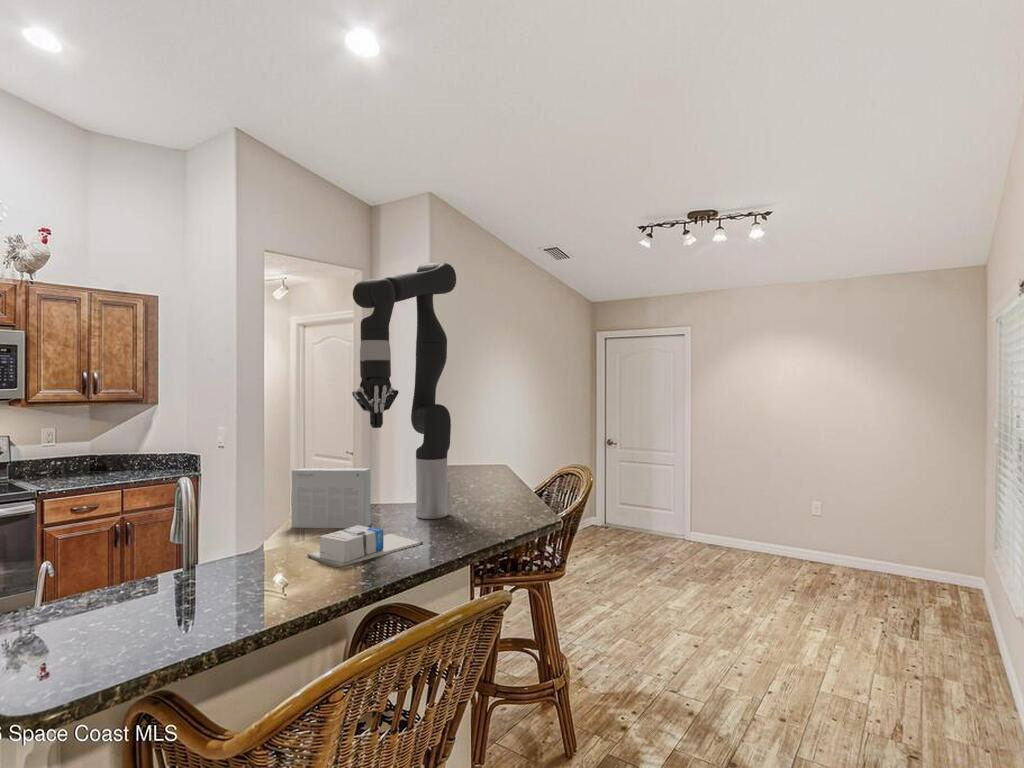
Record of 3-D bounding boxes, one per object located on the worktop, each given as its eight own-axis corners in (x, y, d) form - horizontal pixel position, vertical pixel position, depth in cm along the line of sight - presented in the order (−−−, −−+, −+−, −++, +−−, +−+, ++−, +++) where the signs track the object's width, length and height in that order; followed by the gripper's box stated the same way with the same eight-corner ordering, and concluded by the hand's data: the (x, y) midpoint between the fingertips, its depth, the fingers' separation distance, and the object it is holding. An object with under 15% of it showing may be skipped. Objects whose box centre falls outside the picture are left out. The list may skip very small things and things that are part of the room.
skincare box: (371, 524, 161) (371, 467, 161) (365, 529, 156) (364, 470, 156) (299, 523, 163) (299, 467, 163) (290, 528, 158) (290, 470, 158)
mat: (392, 535, 149) (392, 533, 149) (423, 543, 142) (422, 541, 142) (307, 556, 131) (307, 553, 131) (336, 567, 124) (336, 564, 124)
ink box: (384, 529, 134) (346, 540, 124) (384, 551, 134) (345, 563, 124) (357, 524, 139) (318, 534, 129) (357, 545, 139) (318, 557, 129)
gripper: (387, 359, 153) (388, 425, 153) (344, 359, 143) (345, 429, 143) (405, 358, 148) (406, 426, 148) (361, 358, 138) (363, 430, 138)
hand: (376, 427), depth 145 cm, fingers closed
